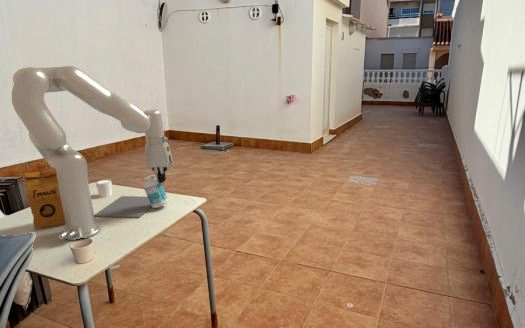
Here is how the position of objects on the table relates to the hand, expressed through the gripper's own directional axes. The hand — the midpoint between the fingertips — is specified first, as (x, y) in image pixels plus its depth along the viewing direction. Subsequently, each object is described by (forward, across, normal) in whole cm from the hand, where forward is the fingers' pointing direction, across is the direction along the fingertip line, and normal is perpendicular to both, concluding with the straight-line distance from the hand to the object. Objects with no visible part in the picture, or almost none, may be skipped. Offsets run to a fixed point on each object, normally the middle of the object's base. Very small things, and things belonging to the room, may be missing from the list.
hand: (162, 181), depth 146 cm
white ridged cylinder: (+11, +36, -11) cm, 39 cm away
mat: (+11, +16, +2) cm, 20 cm away
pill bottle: (+11, +2, +1) cm, 11 cm away
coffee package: (+10, +38, +21) cm, 45 cm away
